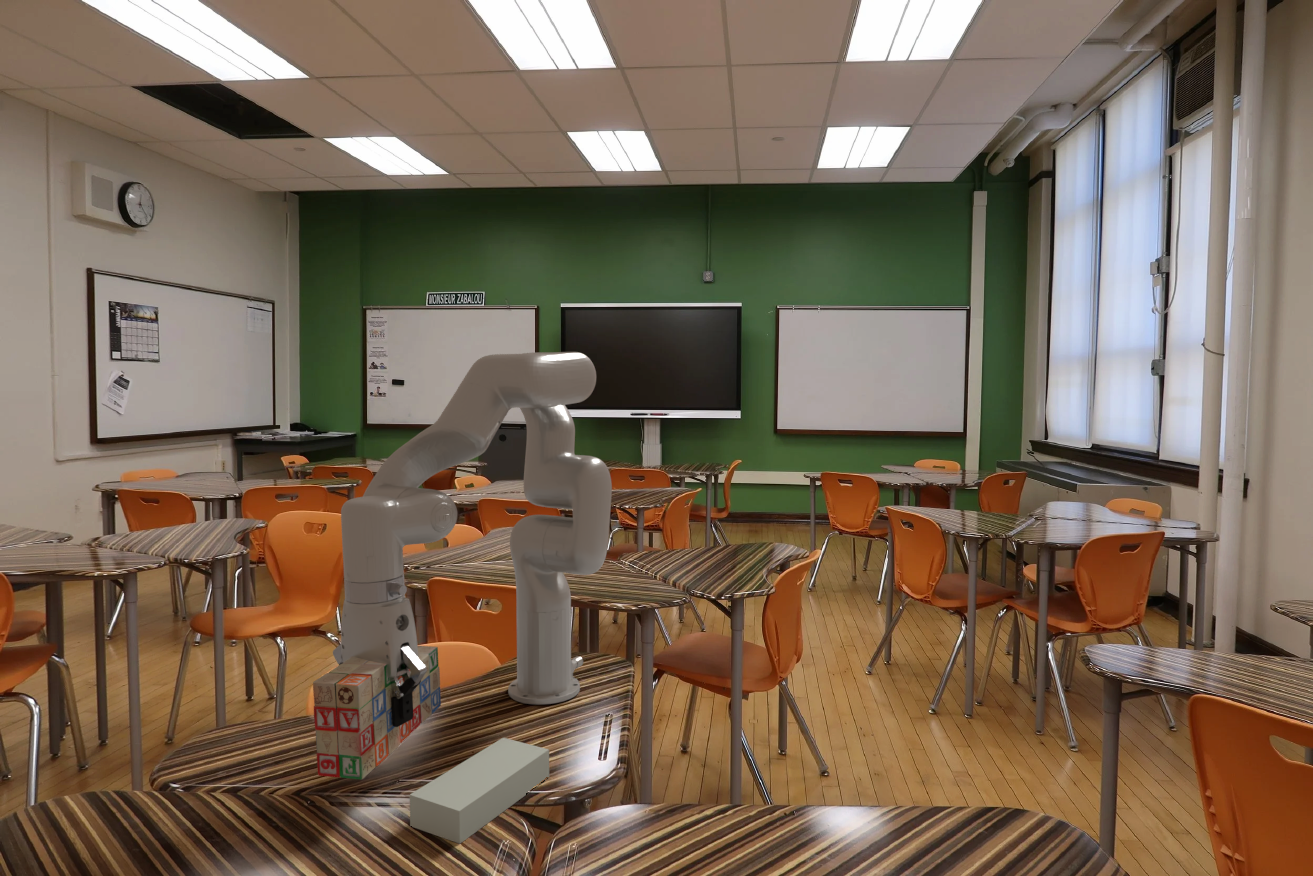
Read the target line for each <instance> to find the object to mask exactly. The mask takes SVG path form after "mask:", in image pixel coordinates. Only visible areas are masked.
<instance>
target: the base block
mask: <svg viewBox="0 0 1313 876" xmlns="http://www.w3.org/2000/svg"><path fill="white" fill-rule="evenodd" d="M546 777H549V778H550V749H549V748H544V747H542V746H541V747H540V746H536V745H534V744H530V743H529V744H528V743H525V742H522V741H518V740H513V739H510V738H507V737H502V738H500V739H498V740H496V742H494V743H492V744H491V745H489V746H487V747H486V748H484V749H482V750H480V751H479V752H477V753H475V754H474V755H472V756H470V757H469V758H467V759H466V760H464V761H462V762H461V763H459V764H457V765H456V766H454V767H453V768H451V769H449V770H447V771H446V772H444V773H443V774H441V775H439V776H438V777H436V778H435V779H433V780H431V781H429V782H428V783H427V784H424V785H423V786H421V787H420V788H418V789H416V790H415V791H413V792H412V793H410V794H409V827H411V826H412V828H415V829H416V830H420V831H423V832H425V833H429V834H431V835H434V836H438V837H441V838H442V839H445V840H448V841H451V842H453V843H457V844H462V843H463V842H464V841H465V840H468V838H470V837H471V836H473V835H474V834H475V833H476V832H478V831H479V830H481V829H482V828H484V826H486V825H487V824H489V823H491V822H492V821H493V820H494V819H495V818H496V817H498V816H500V815H501V814H502V813H504V812H505V811H507V810H508V809H509V808H510V807H511V806H513V805H514V804H516V803H517V802H519V800H521V799H522V798H524V797H525V796H526V793H527V792H528V791H530V790H531V789H532V788H533V787H534V786H536V785H537V784H539V783H540V782H541V781H542V780H544V779H545V778H546Z"/></svg>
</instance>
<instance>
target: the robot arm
mask: <svg viewBox="0 0 1313 876" xmlns="http://www.w3.org/2000/svg"><path fill="white" fill-rule="evenodd" d="M596 385H597V371H596V368H595V365H594V363H593V362H592V360H591V358H590V357H588V356H587V355H586V354H584V353H582V352H578V351H559V352H557V351H555V352H553V351H552V352H545V351H544V352H542V351H541V352H524V353H499V354H498V353H497V354H489V355H484V356H481V357H480V358H479V359H477V360H476V361H475V362H474V363H472V365H471V367H470V369H469V370H468V371H467V373H466V374H465V376H464V377H463V379H462V381H461V382H460V384H459V385H458V387H457V389H456V390H455V392H454V393H453V395H452V397H451V399H450V400H449V401H448V403H447V405H446V406H445V408H444V409H443V410H442V412H441V414H440V415H439V417H438V418H437V420H436V421H435V422H434V423H433V424H431V425H430V426H428V427H426V428H425V429H424V430H421V432H419V433H417V434H416V435H415V436H414V437H412V438H411V439H409V440H408V441H407V442H405V443H404V444H402V445H401V446H400V447H398V448H397V449H396V450H395V451H394V452H393V453H391V455H390V456H388V457H387V459H386V460H385V461H384V462H383V463H382V465H381V466H380V467H379V469H378V470H377V471H376V473H375V474H374V476H373V478H372V479H371V481H370V482H369V484H368V486H367V488H366V489H365V491H364V493H363V495H362V496H360V497H359V496H358V497H354V498H351V499H348V500H346V501H345V502H344V503H343V505H342V507H341V510H340V521H341V526H340V527H341V544H342V546H341V547H342V559H343V560H342V561H343V578H344V579H343V581H344V600H343V605H342V613H341V614H342V615H341V625H340V627H341V629H340V631H341V632H340V633H341V635H340V638H341V639H340V642H341V643H340V644H339V645H338V646H337V647H336V648H335V649H333V650H332V656H333V657H334V660H335V661H336V663H337V664H338V666H339V665H340V664H342V663H344V662H345V661H346V660H348V659H349V658H351V657H352V656H353V657H357V658H361V659H365V660H369V661H373V662H378V663H383V664H387V667H386V668H387V677H388V678H389V679H390V681H391V688H392V690H393V693H394V695H395V696H394V697H392V698H391V710H392V725H393V726H394V727H399V726H400V725H402V724H404V723H406V722H408V721H410V720H411V719H412V718H413V696H412V692H413V691H415V690H416V687H417V686H418V685H419V684H420V682H421V679H422V678H423V676H424V675H425V673H426V671H427V668H426V666H425V665H424V664H423V663H422V662H421V660H420V659H419V658H418V646H419V645H418V637H417V629H416V623H415V618H414V617H415V616H414V613H413V609H412V605H411V602H410V598H408V597H406V596H405V595H406V593H407V592H408V591H407V590H408V589H407V588H408V587H407V586H406V585H405V571H404V547H405V546H410V545H421V544H424V545H425V544H430V543H436V542H438V541H441V540H442V539H445V537H447V536H448V535H449V534H450V533H451V532H452V531H453V530H454V528H455V525H456V523H457V519H458V509H457V506H456V504H455V501H454V500H453V499H452V498H451V496H450V495H448V494H447V493H444V492H442V491H440V490H438V489H432V488H423V487H420V486H421V485H422V484H423V483H425V481H427V480H428V479H430V478H431V477H433V476H435V475H437V474H438V473H440V472H442V471H445V470H447V469H449V468H452V467H455V466H457V465H461V464H464V463H467V462H468V461H469V462H470V461H471V460H473V459H475V458H477V457H480V456H481V455H482V454H484V453H486V451H487V449H488V448H489V446H490V444H491V442H492V440H493V439H494V437H495V435H496V433H497V431H498V430H499V428H500V426H501V425H502V423H503V421H504V419H505V418H506V416H507V415H508V413H509V411H510V410H511V409H514V408H517V409H518V408H519V410H520V411H521V413H522V415H523V417H524V421H525V425H526V443H525V444H526V446H525V457H524V458H525V459H524V470H523V472H524V473H523V493H524V497H525V499H526V500H527V501H528V502H529V503H530V504H532V505H534V506H538V507H542V508H544V507H545V508H551V509H552V508H553V509H562V510H572V517H570V516H569V517H568V516H567V517H566V516H560V515H549V514H532V515H528V516H525V517H522V518H521V519H519V520H518V521H517V522H516V524H514V526H513V528H512V529H511V532H510V535H509V536H510V537H509V551H510V556H511V560H512V566H513V569H514V578H515V588H516V589H515V590H516V591H515V592H516V594H515V595H516V676H517V677H516V679H515V680H513V681H511V683H510V684H509V685H508V691H507V693H508V696H509V697H510V698H511V699H513V700H514V701H516V702H518V703H522V704H526V705H527V704H528V705H541V706H542V705H551V704H552V705H553V704H558V703H562V702H565V701H568V700H571V699H573V698H575V697H576V696H577V695H578V694H579V693H580V690H581V683H580V681H579V680H578V679H577V678H575V677H574V672H575V670H576V669H578V668H580V667H581V666H583V665H584V660H583V657H581V656H578V655H577V656H575V657H573V658H572V633H571V632H572V629H571V627H572V626H571V625H572V622H571V621H572V620H571V619H572V618H571V617H572V615H571V613H572V611H571V610H572V608H571V606H572V595H571V589H570V585H569V582H568V580H567V578H566V576H565V574H571V575H578V576H587V575H588V576H590V575H592V574H595V573H597V572H598V571H600V569H601V568H602V567H603V564H604V562H605V560H606V557H607V553H608V546H609V537H610V536H609V534H610V521H611V508H612V507H611V505H612V495H613V493H612V492H613V491H612V490H613V485H612V477H611V473H610V470H609V467H608V466H607V464H606V463H605V462H604V461H603V460H602V459H600V458H598V457H596V456H592V455H584V454H581V455H580V454H575V444H576V443H575V442H576V441H575V439H576V438H575V437H576V427H575V422H574V419H573V417H572V415H571V413H570V411H569V409H568V407H567V406H566V405H572V404H577V403H582V402H584V401H585V400H587V399H588V398H589V397H590V396H591V395H592V393H593V391H594V390H595V387H596ZM564 573H565V574H564ZM397 668H399V669H400V671H398V672H397ZM409 669H410V671H411V673H410V671H409ZM399 676H402V678H403V681H404V683H403V684H402V685H400V683H399V680H398V678H397V677H399Z"/></svg>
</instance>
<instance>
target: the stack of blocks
mask: <svg viewBox="0 0 1313 876" xmlns="http://www.w3.org/2000/svg"><path fill="white" fill-rule="evenodd" d="M417 646H418V658H419V659H420V660H421V662H422V663H423V664H424V665H425V666H426V668H427V671H426V673H425V675H424V676H423V678H422V679H421V682H420V684H419V685H418V686H417V687H416V690H415V691H413V692H412V696H413V718H412V719H411V720H410V721H408V722H406V723H404V724H402V725H400V726H399V727H394V726H393V725H392V710H391V698H392V697H394V696H395V695H394V693H393V690H392V688H391V681H390V679H389V678H388V677H387V668H386V667H387V664H383V663H378V662H373V661H369V660H365V659H361V658H357V657H353V656H352V657H351V658H349V659H348V660H346V661H345V662H344V663H342V664H340V665H339V664H338V665H337V666H336V667H334V668H333V669H331V670H330V671H328V672H326V673H325V674H323V675H321V676H320V677H319V678H317V679H315V680H313V682H312V692H313V704H314V705H313V719H314V730H315V741H316V742H315V743H316V760H317V761H316V763H317V764H316V765H317V776H319V777H329V778H330V777H331V778H342V779H353V780H363V779H365V778H366V777H367V776H368V775H369V774H370V773H371V772H372V771H373V770H374V769H375V768H377V767H378V766H379V765H380V764H381V763H382V762H384V761H385V759H387V757H389V756H390V755H391V754H392V753H393V752H395V750H397V749H398V747H399V746H400V745H401V744H402V743H403V741H405V740H406V739H407V738H408V737H409V736H410V735H411V734H412V733H413V732H414V731H415V730H416V729H417V728H418V727H419V726H421V725H422V724H423V723H424V722H425V721H426V720H427V719H428V718H429V717H431V715H433V714H434V713H435V712H436V711H437V710H438V709H439V708H440V707H441V705H442V704H441V703H442V700H441V673H440V672H441V671H440V666H439V650H438V649H439V647H438V646H429V645H417ZM398 671H400V669H399V668H397V672H398ZM409 671H410V669H409ZM410 673H411V671H410ZM397 678H398V680H399V683H400V685H402V684H403V683H404V681H403V678H402V676H399V677H397Z"/></svg>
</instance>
